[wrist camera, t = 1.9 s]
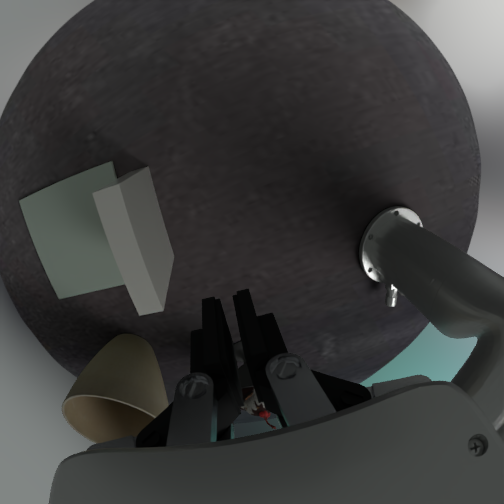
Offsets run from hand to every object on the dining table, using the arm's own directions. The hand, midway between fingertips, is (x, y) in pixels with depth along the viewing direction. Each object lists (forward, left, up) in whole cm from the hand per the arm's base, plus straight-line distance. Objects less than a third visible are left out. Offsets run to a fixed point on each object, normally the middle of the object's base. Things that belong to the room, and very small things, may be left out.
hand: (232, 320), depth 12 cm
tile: (0, +8, -23) cm, 25 cm away
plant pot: (-20, +19, -23) cm, 36 cm away
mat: (0, +19, -23) cm, 30 cm away
